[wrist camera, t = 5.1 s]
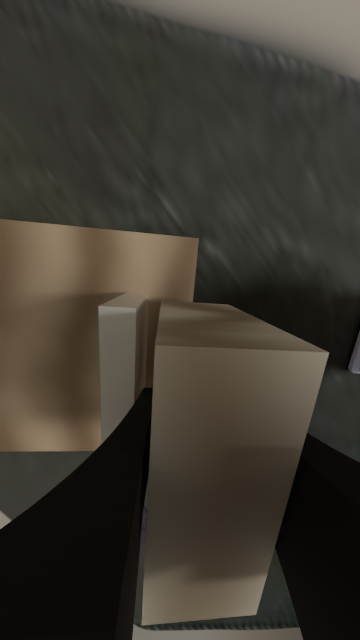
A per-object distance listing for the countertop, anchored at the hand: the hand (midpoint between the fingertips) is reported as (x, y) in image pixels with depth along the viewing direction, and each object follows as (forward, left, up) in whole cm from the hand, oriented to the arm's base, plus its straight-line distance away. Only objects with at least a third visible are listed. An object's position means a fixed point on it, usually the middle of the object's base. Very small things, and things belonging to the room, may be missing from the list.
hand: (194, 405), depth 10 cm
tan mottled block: (0, 0, -2) cm, 2 cm away
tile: (+4, 0, -5) cm, 7 cm away
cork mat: (+8, 0, -6) cm, 10 cm away
